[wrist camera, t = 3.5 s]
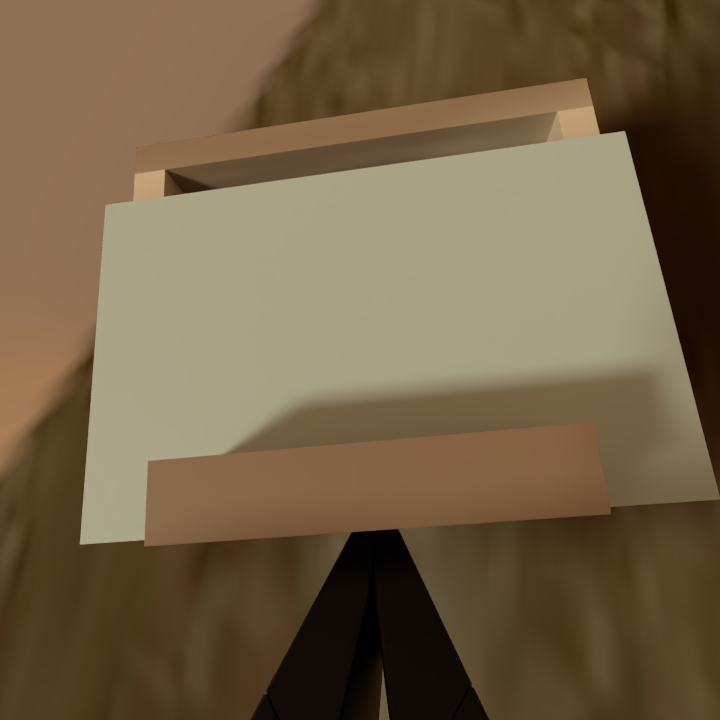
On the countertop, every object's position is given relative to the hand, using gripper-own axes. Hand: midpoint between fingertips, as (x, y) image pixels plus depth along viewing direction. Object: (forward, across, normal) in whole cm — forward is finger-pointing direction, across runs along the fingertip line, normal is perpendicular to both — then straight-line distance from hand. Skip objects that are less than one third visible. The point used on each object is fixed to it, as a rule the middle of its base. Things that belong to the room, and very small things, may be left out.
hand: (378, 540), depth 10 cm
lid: (+5, 0, -2) cm, 5 cm away
